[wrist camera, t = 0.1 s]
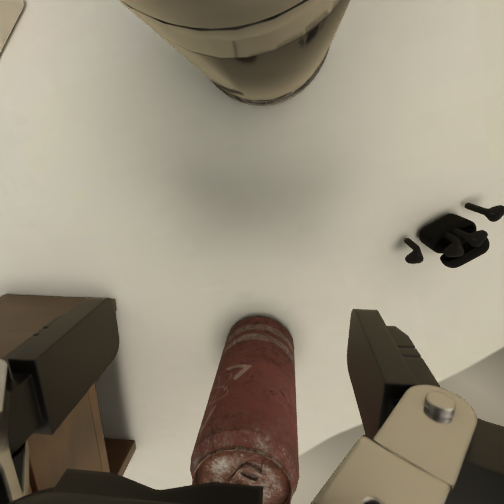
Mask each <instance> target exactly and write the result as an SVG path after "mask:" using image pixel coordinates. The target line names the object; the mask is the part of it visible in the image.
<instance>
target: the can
mask: <svg viewBox="0 0 504 504" xmlns="http://www.w3.org/2000/svg"><path fill="white" fill-rule="evenodd" d="M190 471H191V475H192V479H193V481H192V485H197V484H203V483H209V482H220V483H231V484H242V485H252V486H263V504H290V503H291V498H292V496H293V494H294V492H295V491H296V488H297V484H298V480H299V462H298V437H297V412H296V388H295V363H294V345H293V339H292V337H291V335H290V333H289V331H288V330H287V329H286V328H285V327H284V326H283V325H282V324H281V323H280V322H278V321H275V320H273V319H271V318H268V317H262V316H256V317H248V318H246V319H244V320H241V321H239V322H238V323H237V324H236V325H235V326H234V327H233V328H232V329H231V331H230V333H229V335H228V337H227V340H226V343H225V347H224V350H223V353H222V357H221V360H220V363H219V367H218V370H217V373H216V377H215V380H214V383H213V387H212V390H211V393H210V397H209V400H208V403H207V407H206V410H205V413H204V417H203V420H202V423H201V427H200V430H199V433H198V437H197V440H196V443H195V447H194V450H193V453H192V457H191V466H190Z"/></svg>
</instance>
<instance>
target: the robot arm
mask: <svg viewBox="0 0 504 504" xmlns="http://www.w3.org/2000/svg"><path fill="white" fill-rule="evenodd" d="M118 1H120V2H121V3H122V4H123V5H124V6H125V7H127V8H128V9H129V10H130V11H131V12H133V13H134V14H135V15H136V16H137V17H138V18H140V19H141V20H142V21H143V22H144V23H146V24H147V25H148V26H149V27H151V28H152V29H153V30H154V31H155V32H156V33H158V34H159V35H160V36H161V37H162V38H163V39H165V40H166V41H167V42H168V43H169V44H170V45H172V46H173V47H174V48H175V49H176V50H177V51H179V52H180V53H181V54H182V55H183V56H184V57H186V58H187V59H188V60H189V61H190V62H191V63H193V64H194V65H195V66H196V67H197V68H198V69H200V70H201V71H202V72H203V73H204V74H205V75H207V76H208V77H209V78H210V79H211V80H212V81H213V83H214V85H216V86H217V87H218V88H219V89H220V90H222V91H223V92H224V93H225V94H227V95H228V96H230V97H231V98H233V99H235V100H237V101H240V102H242V103H246V104H249V105H256V106H266V105H273V104H277V103H281V102H283V101H286V100H288V99H290V98H292V97H294V96H295V95H297V94H298V93H300V92H301V91H302V90H303V89H304V88H305V87H306V86H308V85H309V83H310V82H311V81H312V80H313V79H314V77H315V76H316V75H317V73H318V72H319V70H320V68H321V67H322V64H323V62H324V60H325V58H326V56H327V53H328V50H329V47H330V44H331V42H332V40H333V38H334V35H335V33H336V31H337V29H338V26H339V24H340V22H341V20H342V18H343V15H344V13H345V11H346V9H347V7H348V4H349V2H350V0H118ZM207 80H208V79H207ZM118 347H119V334H118V327H117V320H116V313H115V306H114V302H113V300H112V299H110V298H93V297H88V298H86V299H84V300H83V301H82V302H80V303H79V304H78V305H77V306H75V307H74V308H73V309H71V310H70V311H69V312H67V313H65V314H62V315H60V316H58V317H56V318H54V319H53V320H52V321H50V322H49V323H48V324H46V325H45V326H44V327H43V329H40V330H38V331H37V332H36V333H34V335H33V336H30V337H29V338H28V339H26V340H25V341H24V342H22V343H21V344H20V345H19V346H17V347H16V348H15V349H13V350H12V351H11V352H9V353H8V354H7V355H5V356H4V357H3V358H1V359H0V504H263V486H252V485H242V484H231V483H220V482H209V483H203V484H197V485H190V486H184V487H178V488H172V489H165V490H155V489H152V488H150V487H147V486H145V485H142V484H140V483H137V482H135V481H132V480H130V479H128V478H125V477H123V476H120V475H118V474H115V473H111V472H100V471H89V470H78V469H67V470H66V471H65V473H64V474H63V475H62V477H61V478H60V480H59V481H58V483H57V484H56V486H55V487H52V488H48V489H44V490H40V491H36V492H34V493H31V494H29V445H28V441H27V439H28V438H29V437H30V436H31V435H32V433H33V434H46V435H53V434H54V432H55V431H56V430H57V429H58V427H59V426H60V425H61V424H62V422H63V421H64V420H65V419H66V417H67V416H68V415H69V414H70V412H71V411H72V410H73V409H74V407H75V406H76V405H77V404H78V402H79V401H80V400H81V399H82V397H83V396H84V395H85V394H86V392H87V391H88V390H89V389H90V387H91V386H92V385H93V384H94V382H95V381H96V380H97V379H98V377H99V376H100V375H101V374H102V372H103V371H104V370H105V369H106V367H107V366H108V365H109V364H110V362H111V361H112V360H113V359H114V357H115V356H116V354H117V351H118ZM347 365H348V372H349V375H350V379H351V383H352V386H353V390H354V394H355V397H356V401H357V405H358V408H359V412H360V416H361V419H362V423H363V426H364V430H365V434H366V435H363V436H361V437H360V438H359V439H358V440H357V442H356V443H355V444H354V446H353V447H352V448H351V450H350V451H349V452H348V454H347V455H346V457H345V458H344V459H343V461H342V462H341V463H340V465H339V466H338V467H337V469H336V470H335V471H334V473H333V474H332V475H331V477H330V478H329V479H328V481H327V482H326V484H325V485H324V486H323V487H322V489H321V490H320V492H319V493H318V494H317V495H316V497H315V498H314V500H313V501H312V502H311V504H504V427H503V426H500V425H496V424H493V423H489V422H486V421H483V420H481V419H478V418H477V416H476V413H475V411H474V410H473V408H472V407H471V406H470V405H469V404H468V403H467V402H466V401H465V400H464V399H462V398H461V397H460V396H458V395H456V394H455V393H453V392H451V391H449V390H446V389H443V388H441V387H440V386H439V384H438V382H437V381H436V379H435V378H434V376H433V374H432V373H431V371H430V370H429V368H428V367H427V365H426V363H425V362H424V360H423V359H422V358H421V356H420V354H419V352H418V351H417V349H415V346H414V345H413V343H412V341H411V340H410V338H409V337H408V335H406V334H405V333H403V332H402V331H401V330H399V329H398V328H397V327H395V326H386V325H385V323H384V321H383V319H382V317H381V316H380V314H379V312H378V311H377V310H363V309H353V310H352V313H351V319H350V329H349V339H348V349H347Z"/></svg>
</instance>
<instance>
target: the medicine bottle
mask: <svg viewBox="0 0 504 504" xmlns="http://www.w3.org/2000/svg"><path fill="white" fill-rule="evenodd" d="M23 7H24V1H23V0H0V52H1V50H2V48H3V46H4V44H5V43H6V41H7V39H8V37H9V35H10V33H11V31H12V29H13V27H14V25H15V23H16V21H17V19H18V17H19V15H20V13H21V11H22V9H23Z"/></svg>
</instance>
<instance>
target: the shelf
mask: <svg viewBox="0 0 504 504" xmlns="http://www.w3.org/2000/svg"><path fill="white" fill-rule="evenodd" d="M84 299H86V298H77V297H53V296H29V295H3V296H1V297H0V359H1V358H3V357H4V356H5V355H7V354H8V353H9V352H11V351H12V350H13V349H15V348H16V347H17V346H19V345H20V344H21V343H22V342H24V341H25V340H26V339H28V338H29V337H30V336H33V335H34V333H36V332H37V331H38V330H40V329H43V327H44V326H45V325H46V324H48V323H49V322H50V321H52V320H53V319H54V318H56V317H58V316H60V315H62V314H65V313H67V312H69V311H70V310H71V309H73V308H74V307H75V306H77V305H78V304H79V303H80V302H82V301H83V300H84ZM112 300H113V302H114V306H115V311H116V303H115V299H112ZM27 441H28V445H29V494H31V493H34V492H36V491H40V490H44V489H48V488H52V487H55V486H56V484H57V483H58V481H59V480H60V478H61V477H62V475H63V474H64V473H65V471H66V470H67V469H78V470H89V471H100V472H111V473H115V474H118V475H120V476H123V474H124V472H125V470H126V468H127V466H128V464H129V462H130V460H131V458H132V456H133V454H134V452H135V450H136V446H135V441H133V440H121V439H108V438H104V435H103V430H102V424H101V418H100V412H99V407H98V401H97V395H96V389H95V384H93V385H92V386H91V387H90V389H89V390H88V391H87V392H86V394H85V395H84V396H83V397H82V399H81V400H80V401H79V402H78V404H77V405H76V406H75V407H74V409H73V410H72V411H71V412H70V414H69V415H68V416H67V417H66V419H65V420H64V421H63V422H62V424H61V425H60V426H59V427H58V429H57V430H56V431H55V432H54V434H53V435H46V434H33V433H32V435H31V436H30V437H29V438H28V439H27Z"/></svg>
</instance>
